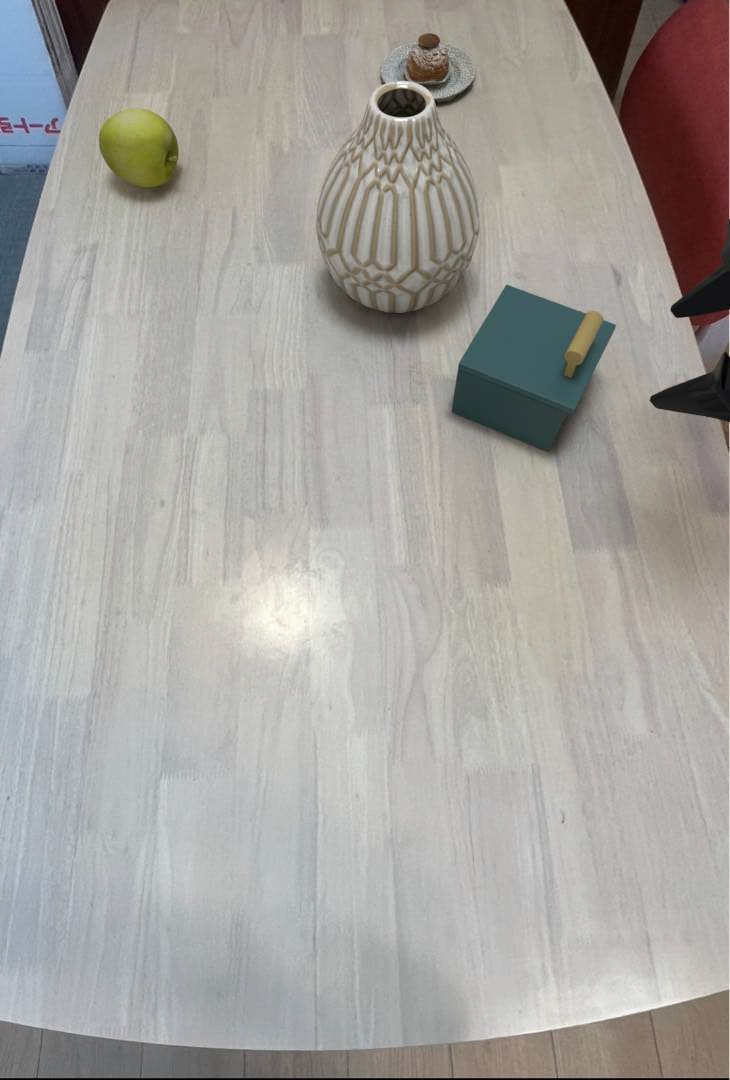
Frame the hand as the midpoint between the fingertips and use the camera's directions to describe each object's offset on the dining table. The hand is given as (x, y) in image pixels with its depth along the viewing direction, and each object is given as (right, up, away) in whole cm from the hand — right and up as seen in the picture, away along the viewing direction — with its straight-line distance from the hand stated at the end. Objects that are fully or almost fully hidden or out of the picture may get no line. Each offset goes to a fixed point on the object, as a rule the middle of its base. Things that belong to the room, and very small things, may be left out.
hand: (663, 356), depth 57 cm
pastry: (-15, +45, +39) cm, 61 cm away
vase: (-19, +14, +23) cm, 33 cm away
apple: (-48, +28, +31) cm, 63 cm away
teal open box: (-7, 0, +16) cm, 18 cm away
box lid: (-7, +3, +11) cm, 13 cm away
